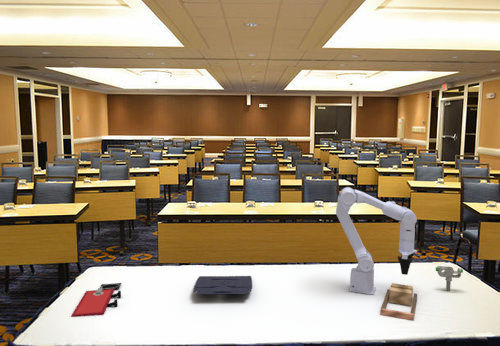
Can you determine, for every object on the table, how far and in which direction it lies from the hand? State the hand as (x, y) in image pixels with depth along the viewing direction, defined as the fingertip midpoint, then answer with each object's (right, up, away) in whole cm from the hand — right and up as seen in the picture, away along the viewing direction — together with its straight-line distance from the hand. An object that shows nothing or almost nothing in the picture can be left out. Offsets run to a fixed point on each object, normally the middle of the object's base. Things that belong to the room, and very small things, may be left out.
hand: (405, 271), depth 173 cm
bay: (-6, -11, -11) cm, 17 cm away
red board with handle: (-124, -11, -4) cm, 125 cm away
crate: (-4, -10, -7) cm, 13 cm away
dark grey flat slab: (-75, -9, +6) cm, 76 cm away
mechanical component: (+19, -9, +4) cm, 21 cm away
